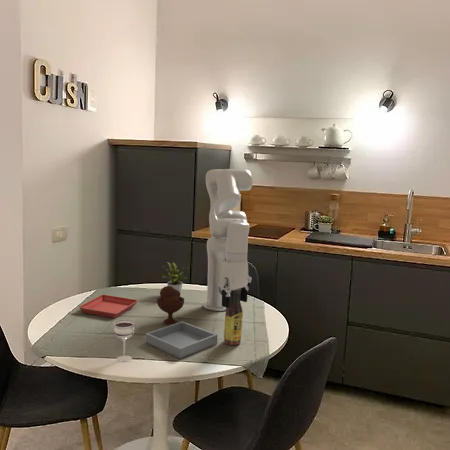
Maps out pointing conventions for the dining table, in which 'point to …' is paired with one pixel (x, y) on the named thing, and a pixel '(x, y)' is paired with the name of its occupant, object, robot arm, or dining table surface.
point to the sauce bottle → (233, 319)
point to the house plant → (175, 278)
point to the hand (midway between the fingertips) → (234, 304)
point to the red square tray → (108, 306)
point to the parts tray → (181, 339)
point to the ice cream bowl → (170, 303)
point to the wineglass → (124, 335)
